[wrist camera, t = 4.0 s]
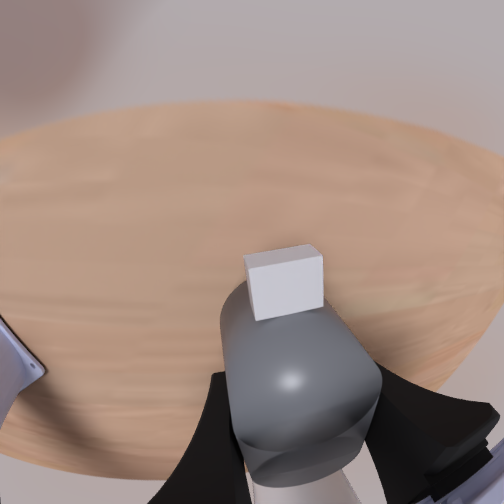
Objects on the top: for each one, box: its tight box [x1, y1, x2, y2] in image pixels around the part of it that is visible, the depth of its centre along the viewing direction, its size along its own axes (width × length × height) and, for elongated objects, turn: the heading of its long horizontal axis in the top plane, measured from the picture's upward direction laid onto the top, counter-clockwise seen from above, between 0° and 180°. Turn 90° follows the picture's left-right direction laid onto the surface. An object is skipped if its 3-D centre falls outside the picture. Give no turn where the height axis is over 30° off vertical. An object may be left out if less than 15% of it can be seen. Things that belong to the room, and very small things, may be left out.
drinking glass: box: [252, 469, 361, 504], centre depth 12 cm, size 7×7×15 cm
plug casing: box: [220, 244, 382, 488], centre depth 9 cm, size 10×4×5 cm, turn 7°
